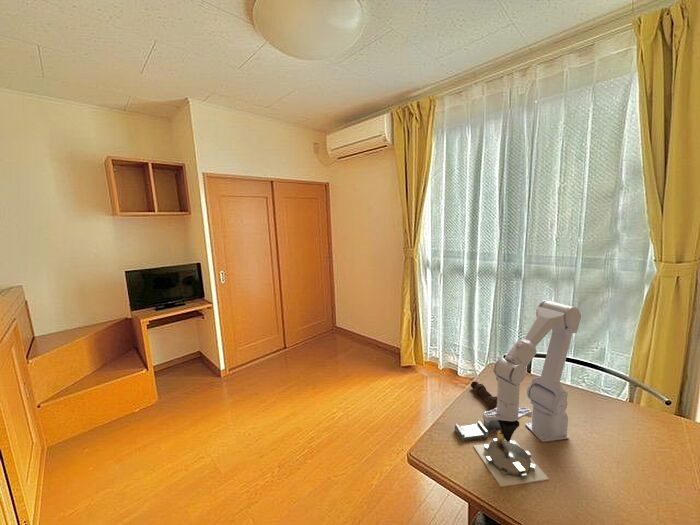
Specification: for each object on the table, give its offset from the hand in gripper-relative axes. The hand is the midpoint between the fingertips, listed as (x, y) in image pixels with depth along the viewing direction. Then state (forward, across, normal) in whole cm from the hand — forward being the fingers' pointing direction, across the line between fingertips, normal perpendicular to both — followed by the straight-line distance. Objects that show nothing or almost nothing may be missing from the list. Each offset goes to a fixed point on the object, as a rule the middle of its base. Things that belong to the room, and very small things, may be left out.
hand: (506, 439), depth 88 cm
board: (+4, +2, +4) cm, 6 cm away
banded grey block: (+4, -2, -10) cm, 11 cm away
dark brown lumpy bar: (+4, -8, -25) cm, 26 cm away
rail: (+4, +7, -8) cm, 11 cm away
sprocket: (+4, +2, +4) cm, 6 cm away
